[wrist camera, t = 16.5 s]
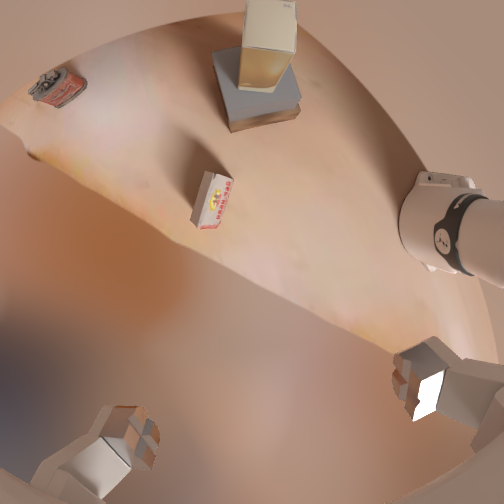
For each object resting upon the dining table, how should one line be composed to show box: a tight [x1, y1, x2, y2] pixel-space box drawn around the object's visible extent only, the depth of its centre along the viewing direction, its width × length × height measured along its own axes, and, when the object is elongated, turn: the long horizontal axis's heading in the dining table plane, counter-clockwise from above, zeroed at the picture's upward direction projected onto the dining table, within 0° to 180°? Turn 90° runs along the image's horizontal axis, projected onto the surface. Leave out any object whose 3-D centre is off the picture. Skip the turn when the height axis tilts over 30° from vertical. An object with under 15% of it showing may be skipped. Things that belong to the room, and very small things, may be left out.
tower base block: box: [213, 65, 301, 133], centre depth 34 cm, size 10×10×5 cm
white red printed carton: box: [190, 171, 234, 229], centre depth 35 cm, size 4×7×10 cm, turn 162°
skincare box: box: [238, 0, 297, 93], centre depth 21 cm, size 6×4×12 cm
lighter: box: [28, 68, 87, 108], centre depth 30 cm, size 8×3×10 cm, turn 111°
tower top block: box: [211, 46, 302, 122], centre depth 30 cm, size 9×9×5 cm
